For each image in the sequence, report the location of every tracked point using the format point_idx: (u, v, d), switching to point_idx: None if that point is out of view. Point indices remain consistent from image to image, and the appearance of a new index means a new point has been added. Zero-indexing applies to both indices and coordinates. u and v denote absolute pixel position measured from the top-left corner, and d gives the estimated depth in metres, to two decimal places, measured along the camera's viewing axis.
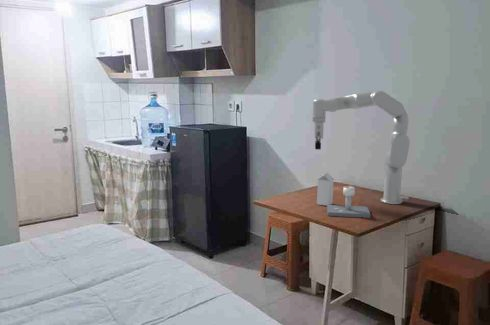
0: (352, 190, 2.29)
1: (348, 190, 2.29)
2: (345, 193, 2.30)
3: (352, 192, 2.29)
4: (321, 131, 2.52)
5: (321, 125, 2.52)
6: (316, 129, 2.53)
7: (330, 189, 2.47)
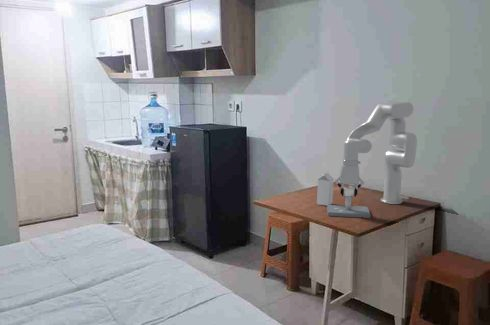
0: (352, 190, 2.29)
1: (348, 190, 2.29)
2: (345, 193, 2.30)
3: (352, 192, 2.29)
4: None
5: None
6: None
7: (330, 189, 2.47)
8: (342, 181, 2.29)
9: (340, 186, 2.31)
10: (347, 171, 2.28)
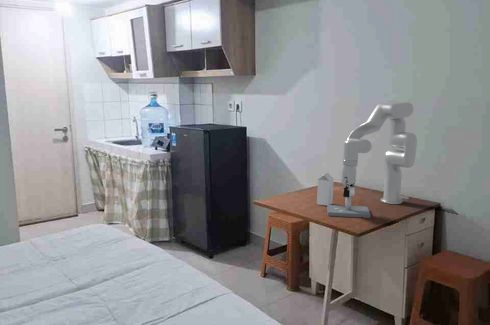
0: (353, 190, 2.29)
1: (350, 190, 2.29)
2: None
3: (353, 192, 2.30)
4: None
5: None
6: None
7: (330, 189, 2.47)
8: (350, 182, 2.27)
9: (347, 188, 2.27)
10: (353, 172, 2.27)
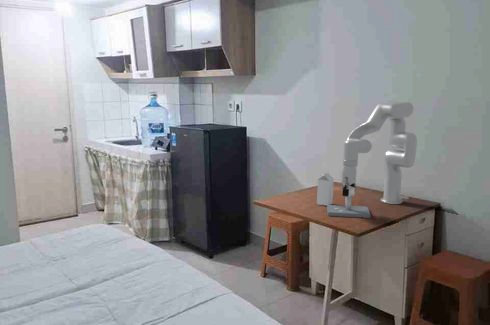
0: (354, 190, 2.30)
1: (350, 190, 2.29)
2: None
3: (354, 192, 2.30)
4: None
5: None
6: None
7: (330, 189, 2.47)
8: (350, 182, 2.27)
9: (346, 187, 2.26)
10: (353, 172, 2.27)
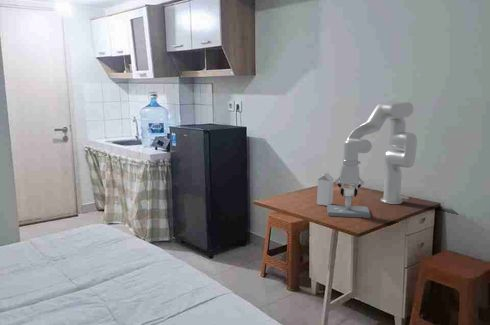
0: (354, 190, 2.30)
1: (350, 190, 2.29)
2: (347, 193, 2.29)
3: (354, 192, 2.30)
4: None
5: None
6: None
7: (330, 189, 2.47)
8: (342, 181, 2.29)
9: (340, 186, 2.31)
10: (347, 171, 2.28)
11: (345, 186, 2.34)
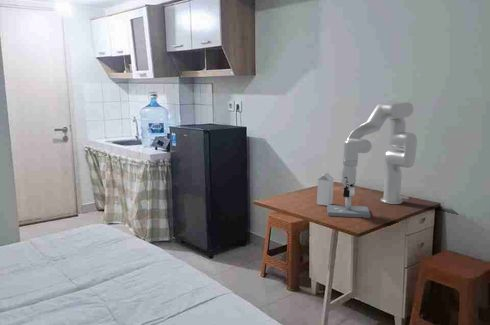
0: (354, 189, 2.31)
1: (352, 190, 2.29)
2: (349, 193, 2.29)
3: (354, 191, 2.31)
4: None
5: None
6: None
7: (330, 189, 2.47)
8: (350, 182, 2.27)
9: (347, 188, 2.27)
10: (353, 172, 2.27)
11: None
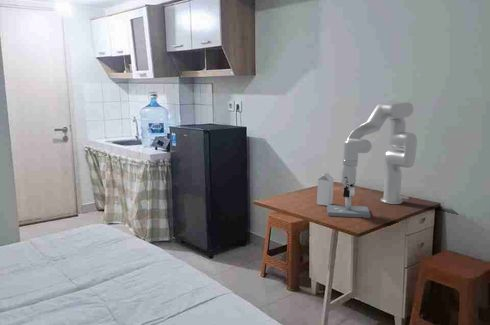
0: (354, 189, 2.31)
1: (352, 190, 2.29)
2: (349, 193, 2.29)
3: (354, 191, 2.31)
4: None
5: None
6: None
7: (330, 189, 2.47)
8: (350, 182, 2.27)
9: (347, 188, 2.27)
10: (353, 172, 2.27)
11: None
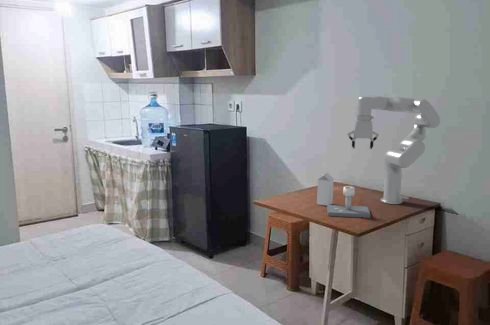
0: (354, 189, 2.31)
1: (352, 190, 2.29)
2: (349, 193, 2.29)
3: (354, 191, 2.31)
4: None
5: None
6: (372, 128, 2.41)
7: (330, 189, 2.47)
8: (356, 135, 2.43)
9: (351, 139, 2.45)
10: (361, 126, 2.41)
11: None
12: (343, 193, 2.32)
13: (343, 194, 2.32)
